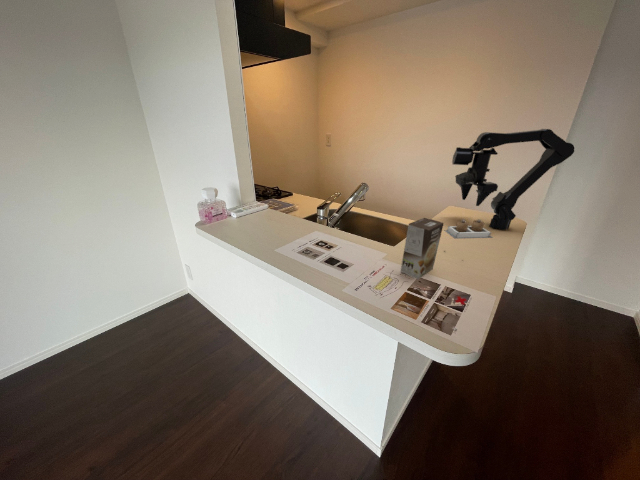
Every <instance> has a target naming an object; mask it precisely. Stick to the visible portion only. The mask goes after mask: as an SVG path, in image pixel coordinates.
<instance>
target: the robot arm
mask: <svg viewBox="0 0 640 480" xmlns="http://www.w3.org/2000/svg"><path fill="white" fill-rule="evenodd" d="M525 142H526V143H528V142H539V143H540V145H541V146H542V147H543V148H544V149H545V150H544V151H543V152H542V154H541V156H540V158H539V160H538V161H537V163H535V165H533V166H532V168H530V169H529V170H528V171H527V172H526V173H525V174H524V175H523V176H522V177H521V178H520V179H519V180H518V181H517V182H516V183H515V184H514V185H512V186H511V188H510V189H508V190H507V191H505V192H502V191H499V192H498V187H499V185H498V184H497V183H494V182H491V181H487V180H488V179H486V175H487V173H488V172H489V173H490V168H488V167H489V163H490V159H491V156H492V155H494V156H495V155H496V156H497V155H498V154H499V153H498V152H497V151H496V150H495V148H496V147H500V146H503V145H506V144H517V143H525ZM573 154H575V146H574V144H573V143H571V142H566V140H564V139H563V138H562V137H560V136H558V135H557V134H556V133H555V132H554V131H553V130H552V129H551V128H541V129H536V130H535V129H534V130H526V131H525V130H524V131H515V132H506V133H505V132H490V131H489V132H488V131H485V132H482V133H480V134H479V135H478V137H476V140H475V142H473V144H471V146H469V147H461V146H458V147H457V146H456V148H455V150H454V153H453V155H452V161H451V163H452V165H453V166H454V165H455V166H468V165H470V164H471V163H472V164H471V167H467V171H464V172H461V173H459V174H456V175H455V183H456V184H457V185H458V186H459V187H460V190H461V197H462V200H463V201H465V200H466V199H467V197H468V195H469V193H470V191H471V190H472V187H473V185H474V186H475V187H476V188H477V189H475V192H476V193H477V198H476V203H475V206H476V207H480V205H481V204H482V203H483V202H484V201H485V200H486V199H487V198H488V197H489V196H490V195H491V194H492V193H494V192H498V193H497V195H496V196H494V197H493V198H491V200H492V201H491V202H490V207H491V209H492V210H493V213H494V214H493V215H492V218H491V220H490V223H489V228H491V229H493V230H499V231H506V230H509V228H510V226H511V222H512V221H513V220H514V219H515V218H516V217H517V215H516V214H515V212H513V210H512V209H514V207H515V206H516V204H517V202H518V200H519V198H520V197H521V196H523V194H524V193H526V192H527V191H528V189H530V188H531V186H533V185H534V184H536V182H537V181H538V180H539V179H540V178H542V177H543V176H544V175H545V174H546V173H547V172H548V171H549V170H550V169H552V168H553V167H556V166H558V165H560V164H562V163H564V162H565V161H566V160H567V159H569V158H570V157H571V156H573Z"/></svg>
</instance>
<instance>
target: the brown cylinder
mask: <svg viewBox="0 0 640 480" xmlns="http://www.w3.org/2000/svg"><path fill="white" fill-rule="evenodd" d="M455 226H456V231H457V232H467V228H468V226H469V222H468V221H466V219H461V220H457V222H456V225H455Z"/></svg>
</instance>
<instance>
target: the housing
mask: <svg viewBox="0 0 640 480" xmlns="http://www.w3.org/2000/svg"><path fill="white" fill-rule="evenodd" d="M456 226H457V225H455V226H454V225H452V226H451V225H449V226H447V229H445V230H444V229H443V231H444V232H445V233H447V234H448V235H449V236H450V237H452V238H453V239H456V240H457V239H458V240H459V239H493V238H494V237H493V236H492V235H491V234H492V232H491V231H490V230H488V229H486V228H484V227H483V230H482V232H474V231H472V230H471V227H472V225H468V228H467V232H457V231H456Z"/></svg>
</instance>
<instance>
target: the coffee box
mask: <svg viewBox="0 0 640 480" xmlns="http://www.w3.org/2000/svg"><path fill="white" fill-rule="evenodd" d="M443 227H444V222H442V221H440V220H435V219H431V218H430V219H429V218H426V217H423V218H420V219H418V220H415V221H412V222H409V223H408V227H407V232H406V237H405V244H404V248H403V249H404V250H403V254H402V260H401V265H400V266H401V267H400V272H401V273H403V274H405V275H407V276H409V277H412V278H414V279H416V280H419V279H421V278H422V277H424V276H425V275H427V274H429V273H430V272H431V271H432V270H434V265H435V262H436V257H437V253H438V249H439V245H440V240H441V237H442V231H443Z"/></svg>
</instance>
